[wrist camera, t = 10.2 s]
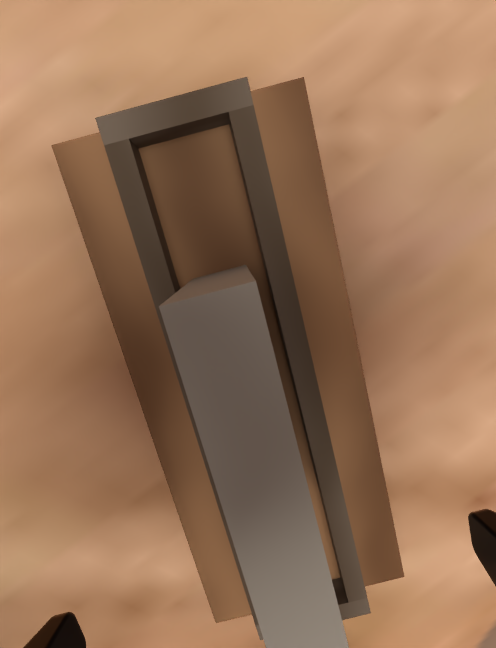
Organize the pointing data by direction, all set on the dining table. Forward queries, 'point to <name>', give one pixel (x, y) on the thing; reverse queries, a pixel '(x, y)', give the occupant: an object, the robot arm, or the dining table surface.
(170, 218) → the track board
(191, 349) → the door panel
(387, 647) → the dining table surface
